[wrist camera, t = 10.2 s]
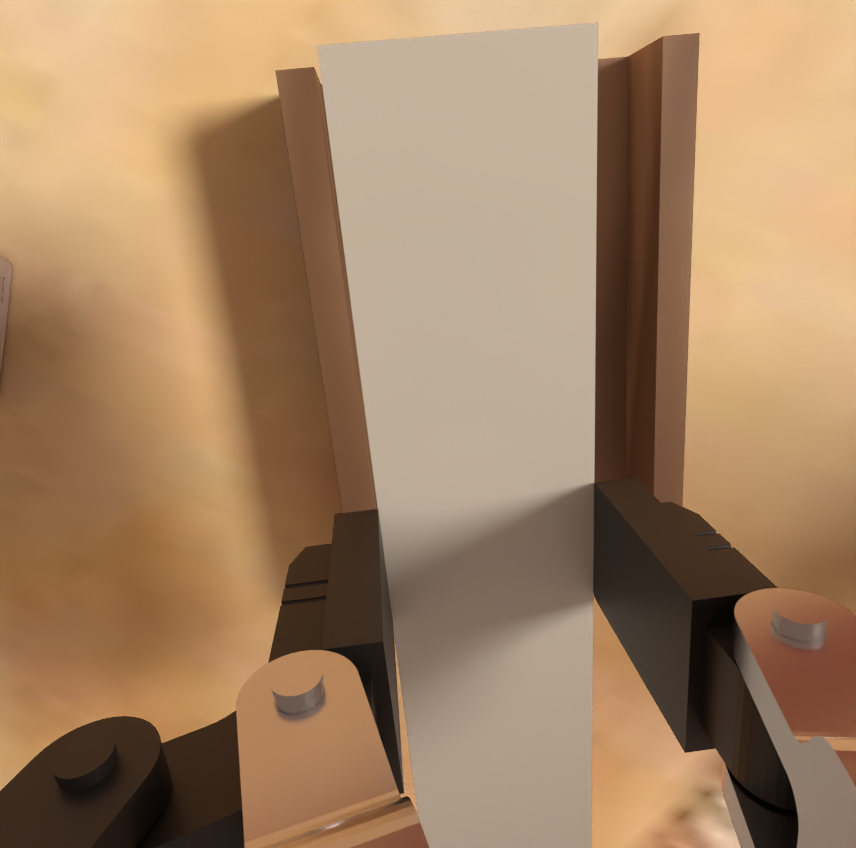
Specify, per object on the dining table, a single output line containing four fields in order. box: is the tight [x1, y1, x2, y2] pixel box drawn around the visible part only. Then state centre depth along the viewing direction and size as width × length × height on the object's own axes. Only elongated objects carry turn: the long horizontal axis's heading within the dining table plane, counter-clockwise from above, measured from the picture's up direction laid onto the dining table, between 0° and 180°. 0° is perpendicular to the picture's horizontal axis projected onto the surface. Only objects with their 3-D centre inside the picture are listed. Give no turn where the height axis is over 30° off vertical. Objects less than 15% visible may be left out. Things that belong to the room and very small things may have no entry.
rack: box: [276, 33, 699, 513], centre depth 26 cm, size 14×20×4 cm
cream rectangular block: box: [317, 23, 598, 848], centre depth 14 cm, size 4×16×6 cm, turn 5°
